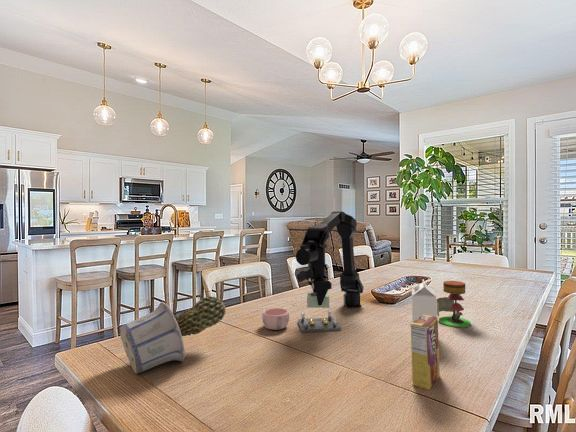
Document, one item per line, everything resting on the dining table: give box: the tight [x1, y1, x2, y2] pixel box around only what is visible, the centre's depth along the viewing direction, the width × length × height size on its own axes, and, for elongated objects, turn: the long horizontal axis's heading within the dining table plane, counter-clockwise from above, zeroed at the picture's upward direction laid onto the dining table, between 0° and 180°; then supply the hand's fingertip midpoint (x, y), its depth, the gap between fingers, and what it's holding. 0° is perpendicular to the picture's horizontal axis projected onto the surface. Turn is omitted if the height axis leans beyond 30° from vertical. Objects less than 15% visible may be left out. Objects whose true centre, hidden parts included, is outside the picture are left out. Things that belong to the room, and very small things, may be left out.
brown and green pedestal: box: [436, 280, 472, 328], centre depth 124 cm, size 12×13×15 cm
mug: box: [261, 307, 290, 331], centre depth 123 cm, size 12×10×6 cm
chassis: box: [297, 310, 342, 333], centre depth 123 cm, size 14×11×4 cm
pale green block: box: [306, 292, 330, 309], centre depth 123 cm, size 8×5×5 cm, turn 84°
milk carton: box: [411, 279, 438, 324], centre depth 109 cm, size 7×7×19 cm
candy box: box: [410, 315, 441, 391], centre depth 83 cm, size 9×4×15 cm, turn 140°
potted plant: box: [119, 296, 227, 374], centre depth 98 cm, size 18×18×30 cm
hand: (318, 303), depth 123 cm, fingers closed on pale green block, 5 cm apart
